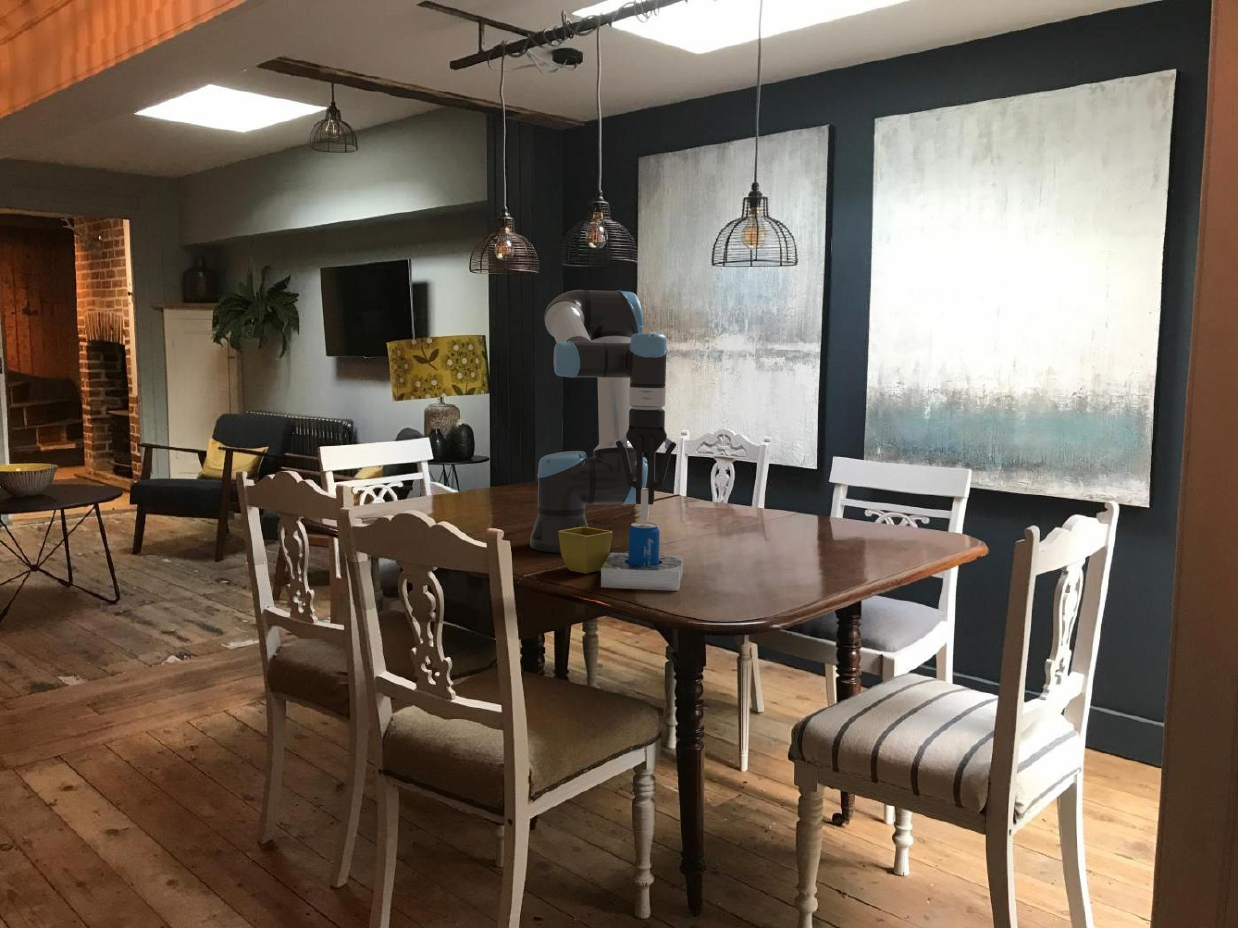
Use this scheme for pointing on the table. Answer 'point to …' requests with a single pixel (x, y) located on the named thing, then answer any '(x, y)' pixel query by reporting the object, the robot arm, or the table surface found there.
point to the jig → (642, 573)
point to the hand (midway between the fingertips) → (644, 519)
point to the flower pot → (585, 548)
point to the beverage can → (643, 544)
